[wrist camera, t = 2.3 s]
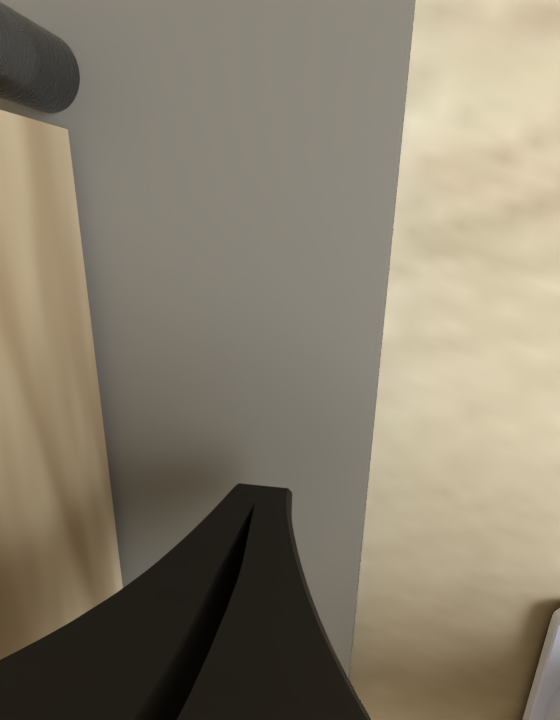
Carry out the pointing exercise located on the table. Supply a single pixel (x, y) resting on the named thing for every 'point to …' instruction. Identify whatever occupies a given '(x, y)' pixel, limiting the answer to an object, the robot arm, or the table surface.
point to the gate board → (237, 257)
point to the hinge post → (35, 65)
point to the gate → (48, 399)
